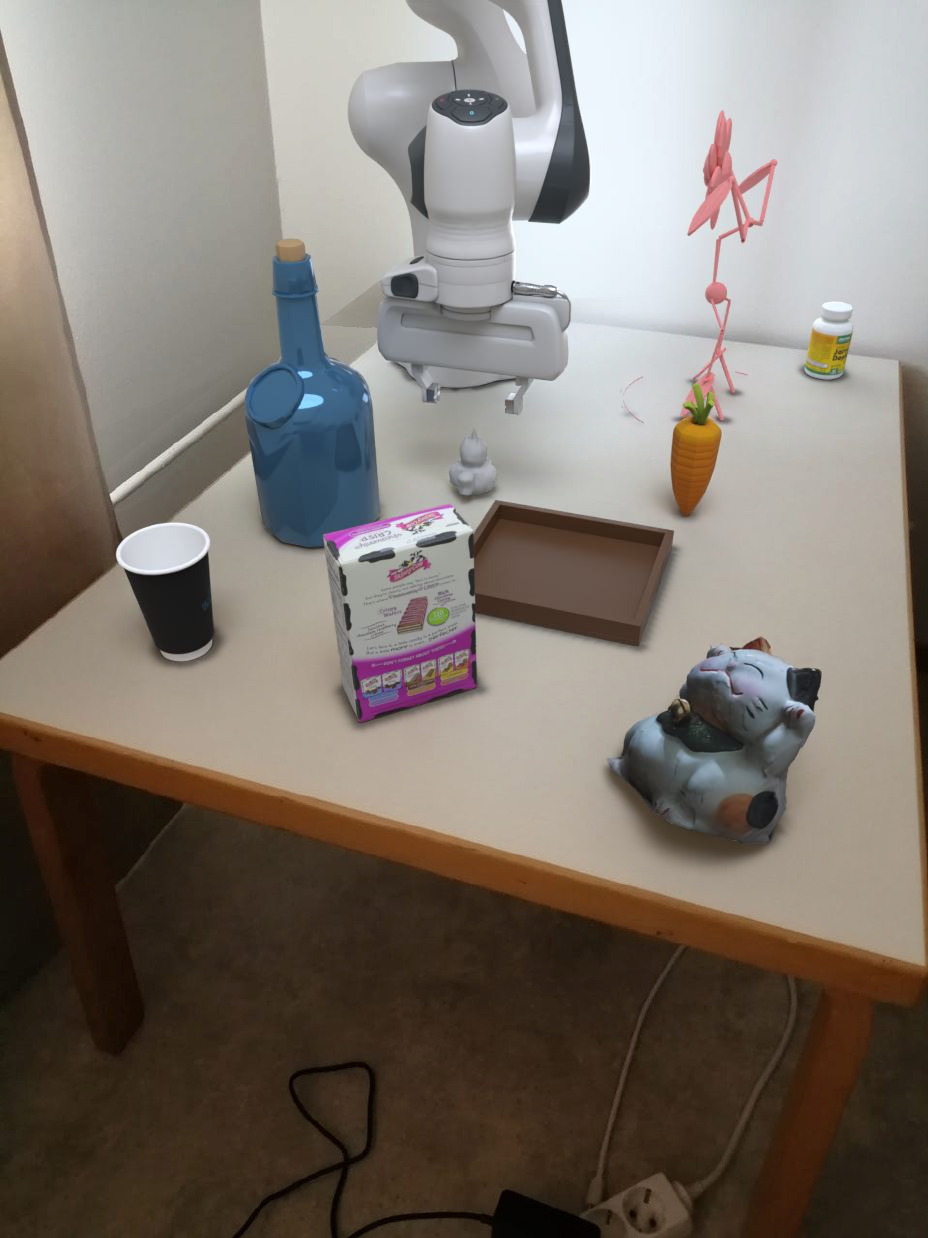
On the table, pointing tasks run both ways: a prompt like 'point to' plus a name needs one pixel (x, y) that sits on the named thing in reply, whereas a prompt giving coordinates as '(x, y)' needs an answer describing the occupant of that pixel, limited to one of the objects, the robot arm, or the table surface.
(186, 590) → the dixie cup
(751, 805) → the lucky cat figurine
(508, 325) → the robot arm
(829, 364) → the supplement bottle
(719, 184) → the figurine
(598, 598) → the serving tray
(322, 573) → the table surface
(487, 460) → the rubber duck
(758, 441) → the table surface
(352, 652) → the candy bar box
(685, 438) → the carrot
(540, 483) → the table surface
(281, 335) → the wine bottle
